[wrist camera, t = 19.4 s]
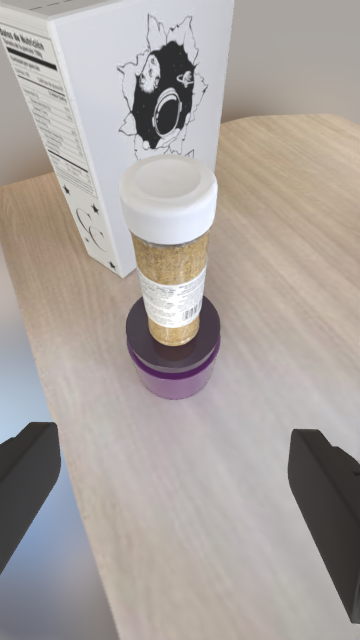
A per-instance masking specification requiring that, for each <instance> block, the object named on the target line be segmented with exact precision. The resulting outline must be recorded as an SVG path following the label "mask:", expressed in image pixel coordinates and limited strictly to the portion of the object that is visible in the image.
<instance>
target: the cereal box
mask: <svg viewBox="0 0 360 640" xmlns="http://www.w3.org/2000/svg"><path fill="white" fill-rule="evenodd" d="M233 10H234V0H0V40H1V43H2V45H3V48H4V50H5V52H6V55H7V57H8V60H9V62H10V65H11V67H12V70H13V72H14V74H15V77H16V79H17V82H18V84H19V87H20V89H21V91H22V94H23V96H24V99H25V101H26V104H27V106H28V108H29V111H30V113H31V115H32V118H33V121H34V123H35V125H36V128H37V130H38V132H39V135H40V138H41V140H42V142H43V145H44V147H45V150H46V152H47V155H48V157H49V159H50V162H51V164H52V166H53V169H54V172H55V174H56V176H57V179H58V181H59V184H60V186H61V189H62V191H63V193H64V196H65V198H66V201H67V203H68V206H69V208H70V210H71V213H72V215H73V218H74V220H75V223H76V225H77V227H78V230H79V232H80V235H81V237H82V240H83V242H84V244H85V247H86V249H87V252H88V254H89V255H90V256H91V257H93V258H94V259H96V260H97V261H98V262H100V263H101V264H103V265H104V266H106V267H107V268H108V269H110V270H111V271H113V272H114V273H116V274H117V275H118V276H120V277H121V278H125V277H126V276H127V275H128V274H129V273H130V272H132V271H133V270H134V269H135V268H136V267H137V266H136V257H135V250H134V246H133V241H132V236H131V233H130V231H129V229H128V227H127V225H126V223H125V220H124V216H123V211H122V207H121V202H120V196H119V189H118V188H119V181H120V178H121V176H122V174H123V173H124V172H125V170H126V169H127V168H129V167H130V166H131V165H132V164H134V163H136V162H137V161H139V160H142V159H145V158H147V157H151V156H155V155H163V154H175V155H183V156H187V157H191V158H194V159H196V160H198V161H200V162H202V163H204V164H205V165H206V166H208V167H209V168H210V169H211V170H212V172H213V173H214V172H215V164H216V155H217V147H218V138H219V130H220V121H221V112H222V103H223V95H224V87H225V78H226V70H227V61H228V52H229V44H230V36H231V27H232V18H233Z"/></svg>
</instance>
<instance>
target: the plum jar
mask: <svg viewBox="0 0 360 640" xmlns="http://www.w3.org/2000/svg"><path fill="white" fill-rule="evenodd" d="M199 320H200V322H199V329H198V332H197V334H196V335H195V337H193V338H192V339H191V340H190V341H189V342H187V343H186V344H183V345H179V346H168V345H164V344H162V343H160V342H158V341H157V340H156V339H155V338H154V337H153V336H152V334H151V333H150V330H149V325H148V315H147V312H146V309H145V304H144V300H143V296H142V297H141V298H140V299H139V300H138V301H137V302H136V303H135V304H134V305H133V307H132V308H131V310H130V312H129V314H128V317H127V321H126V334H127V346H128V350H129V353H130V356H131V358H132V361H133V363H134V366H135V368H136V370H137V373H138V375H139V378H140V380H141V382H142V383H143V385H144V386H145V387H146V388H147V389H148V390H149V391H150V392H152V393H153V394H155V395H156V396H159V397H161V398H165V399H170V400H179V399H184V398H188V397H190V396H192V395H194V394H196V393H197V392H199V391H200V390H201V389H202V388H203V387H204V386H205V385H206V383H207V382H208V380H209V378H210V375H211V373H212V369H213V366H214V363H215V360H216V357H217V353H218V350H219V346H220V319H219V315H218V313H217V311H216V309H215V307H214V306H213V304H212V303H211V302H210V301H209V300H208V299H207V298H206V297H205V296H204V295H203V298H202V305H201V310H200V312H199Z"/></svg>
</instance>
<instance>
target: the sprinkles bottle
mask: <svg viewBox="0 0 360 640" xmlns="http://www.w3.org/2000/svg"><path fill="white" fill-rule="evenodd" d="M118 189H119V196H120V202H121V207H122V211H123V216H124V220H125V223H126V225H127V227H128V229H129V231H130V233H131V236H132V241H133V246H134V250H135V257H136V266H137V271H138V276H139V281H140V285H141V290H142V295H143V300H144V304H145V309H146V312H147V315H148V325H149V330H150V333H151V334H152V336H153V337H154V338H155V339H156V340H157V341H158V342H160V343H162V344H164V345H168V346H179V345H183V344H186V343H187V342H189V341H190V340H191V339H192V338H193V337H195V335H196V334H197V332H198V329H199V322H200V320H199V312H200V310H201V305H202V298H203V290H204V283H205V275H206V267H207V246H208V237H209V231H210V229H211V225H212V223H213V221H214V217H215V209H216V200H217V190H218V184H217V179H216V177H215V175H214V173H213V172H212V170H211V169H210V168H209V167H208V166H206V165H205V164H204V163H202V162H200V161H198V160H196V159H194V158H191V157H187V156H183V155H175V154H163V155H155V156H151V157H147V158H145V159H142V160H139V161H137V162H136V163H134V164H132V165H131V166H130V167H129V168H127V169H126V170H125V172H124V173H123V174H122V176H121V178H120V181H119V188H118Z"/></svg>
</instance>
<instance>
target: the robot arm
mask: <svg viewBox="0 0 360 640" xmlns="http://www.w3.org/2000/svg"><path fill="white" fill-rule="evenodd" d="M60 468H61V457H60V446H59V437H58V428H57V425H56V423H54V422H31V423H29V424H28V425H27V426H26V427H25V428H24V429H23V430H22V431H21V432H20V433H19V434H18V435H17V436H16V437H14V438H13V437H12V438H10V439H8V440H7V441H5V442H4V443H2V444H0V574H1V573H2V571H3V569H4V568H5V566H6V564H7V563H8V561H9V559H10V557H11V556H12V554H13V553H14V551H15V549H16V548H17V546H18V544H19V543H20V541H21V540H22V538H23V536H24V535H25V533H26V531H27V529H28V528H29V526H30V524H31V523H32V521H33V520H34V518H35V516H36V515H37V513H38V511H39V510H40V508H41V506H42V505H43V503H44V501H45V500H46V498H47V496H48V495H49V493H50V491H51V490H52V488H53V486H54V485H55V483H56V481H57V479H58V476H59V473H60ZM288 479H289V484H290V488H291V490H292V493H293V495H294V497H295V499H296V502H297V504H298V506H299V508H300V510H301V513H302V515H303V517H304V519H305V521H306V524H307V526H308V528H309V530H310V533H311V535H312V537H313V539H314V541H315V544H316V546H317V548H318V550H319V552H320V555H321V557H322V559H323V561H324V563H325V566H326V568H327V570H328V572H329V574H330V577H331V579H332V581H333V583H334V585H335V588H336V590H337V592H338V594H339V596H340V599H341V601H342V603H343V605H344V607H345V610H346V612H347V614H348V616H349V618H350V621H351V623H356V624H360V464H359V463H358V462H357V461H356V460H355V459H354V458H353V457H352V456H350V455H349V454H348V453H346V452H345V451H343V450H342V449H341V448H339V447H333V446H332V445H331V444H330V443H329V442H328V440H327V439H326V438H325V437H324V435H323V434H322V433H321V432H320V431H319V430H317V429H294V430H293V431H292V434H291V443H290V452H289V461H288Z"/></svg>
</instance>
